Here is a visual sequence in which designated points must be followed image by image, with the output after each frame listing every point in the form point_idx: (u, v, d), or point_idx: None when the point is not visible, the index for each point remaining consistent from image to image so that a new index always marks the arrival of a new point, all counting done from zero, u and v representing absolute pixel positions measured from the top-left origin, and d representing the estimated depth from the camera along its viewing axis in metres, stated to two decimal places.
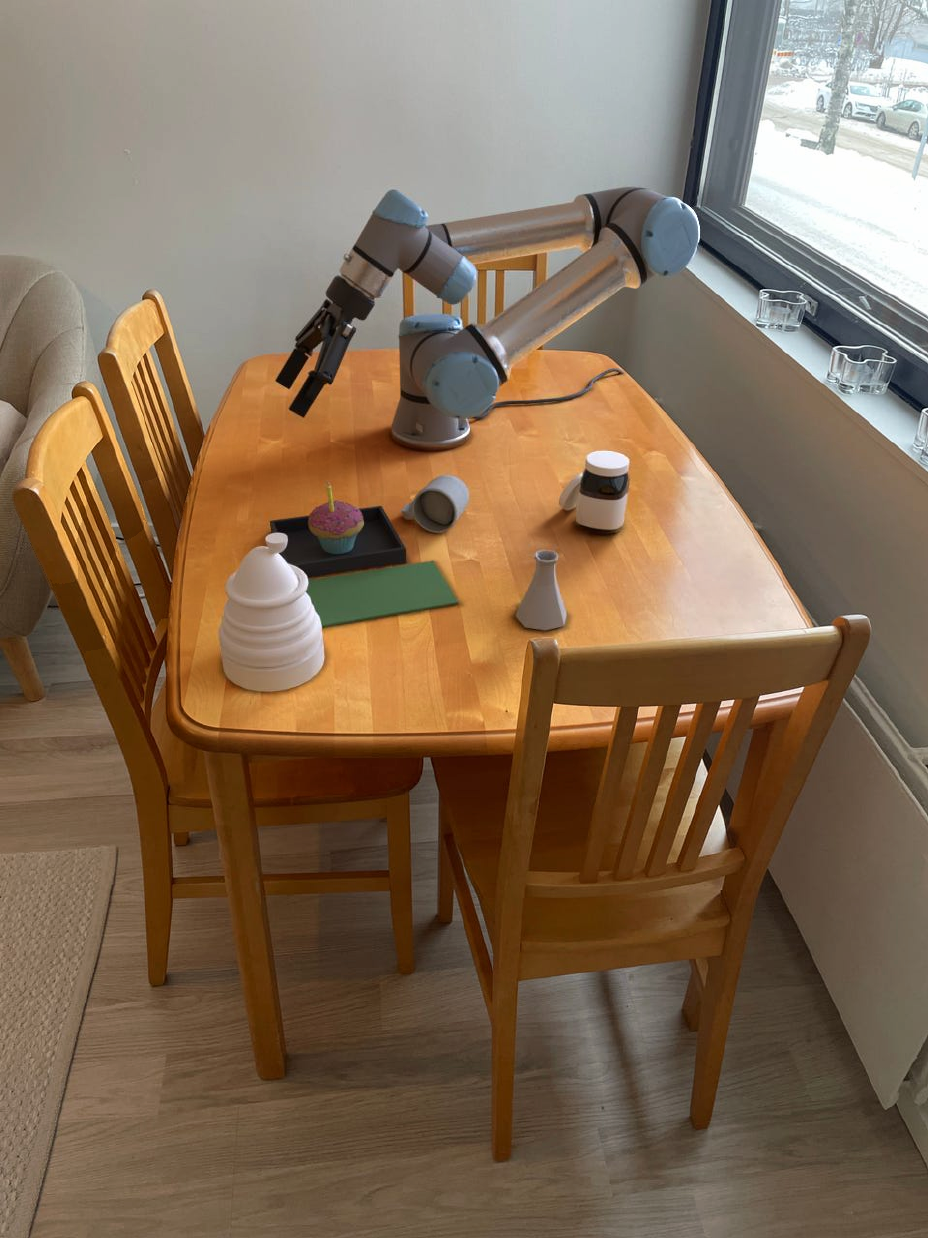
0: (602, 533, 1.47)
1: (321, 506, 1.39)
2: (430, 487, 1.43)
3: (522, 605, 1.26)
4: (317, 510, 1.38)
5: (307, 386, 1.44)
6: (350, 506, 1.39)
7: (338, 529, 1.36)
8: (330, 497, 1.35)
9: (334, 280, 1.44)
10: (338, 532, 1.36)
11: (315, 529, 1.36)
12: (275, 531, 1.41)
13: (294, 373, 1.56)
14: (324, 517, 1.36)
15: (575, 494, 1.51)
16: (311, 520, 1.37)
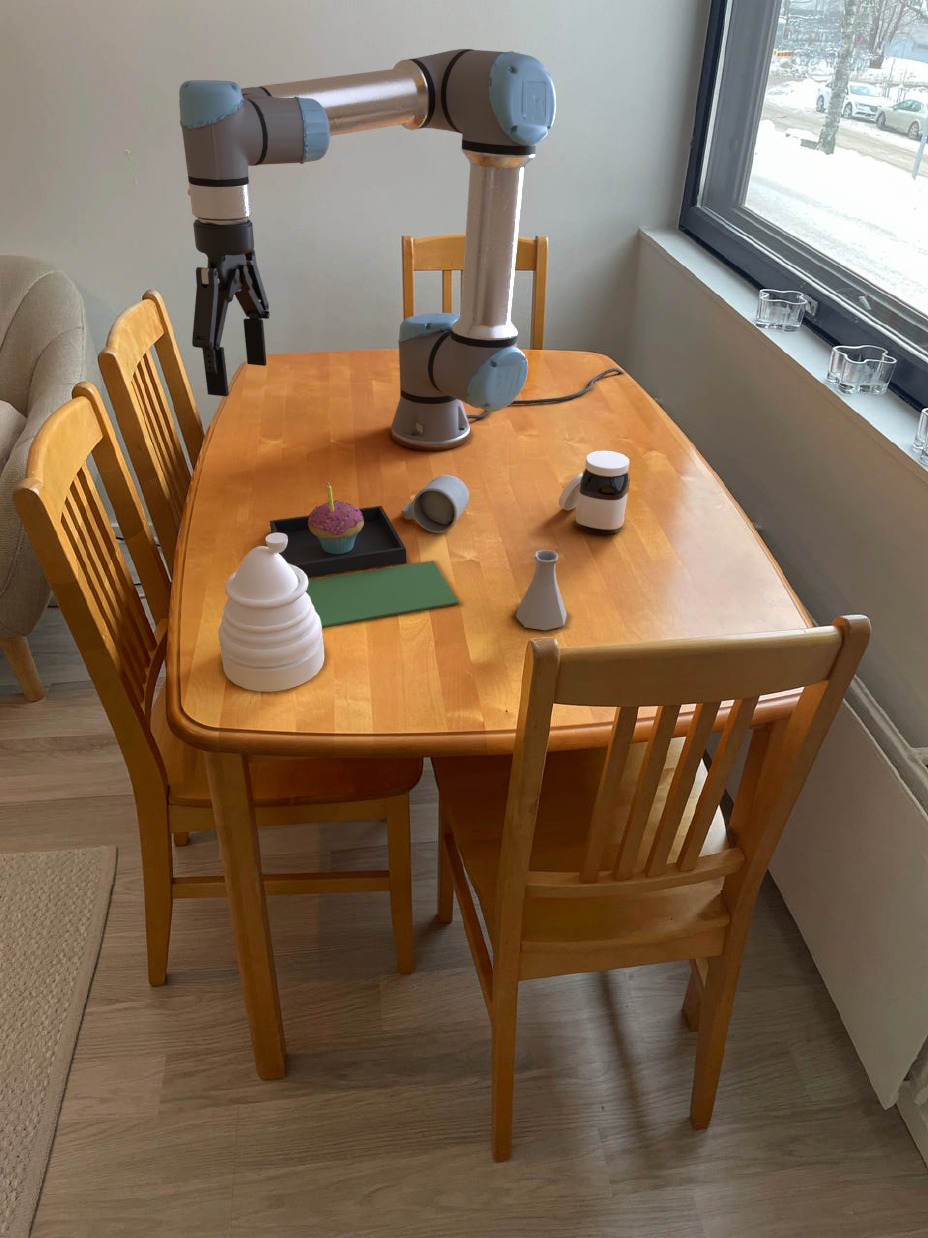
0: (602, 533, 1.47)
1: (321, 506, 1.39)
2: (430, 487, 1.43)
3: (522, 605, 1.26)
4: (317, 510, 1.38)
5: None
6: (350, 506, 1.39)
7: (338, 529, 1.36)
8: (330, 497, 1.35)
9: None
10: (338, 532, 1.36)
11: (315, 529, 1.36)
12: (275, 531, 1.41)
13: (258, 346, 1.34)
14: (324, 517, 1.36)
15: (575, 494, 1.51)
16: (311, 520, 1.37)
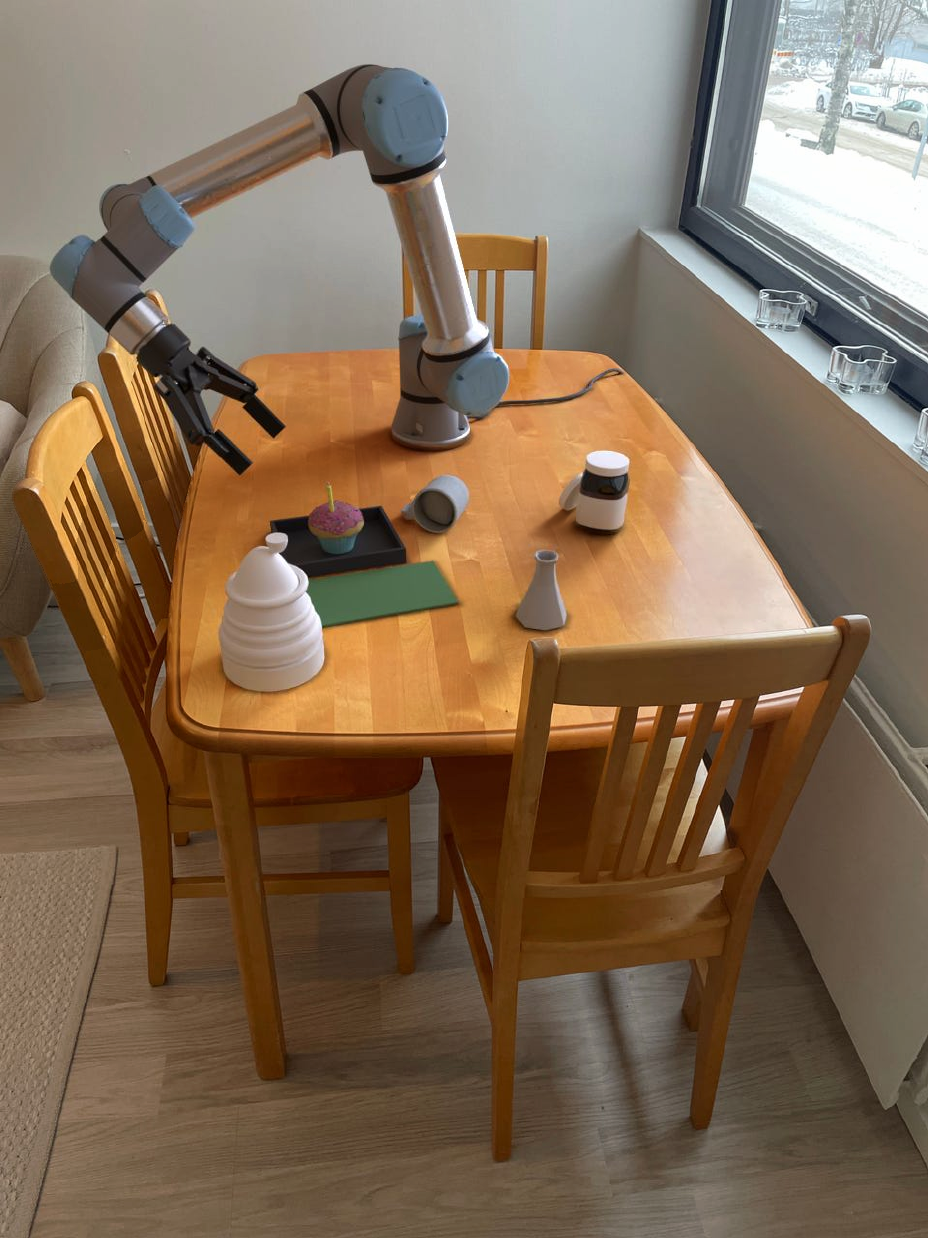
0: (602, 533, 1.47)
1: (321, 506, 1.39)
2: (430, 487, 1.43)
3: (522, 605, 1.26)
4: (317, 510, 1.38)
5: None
6: (350, 506, 1.39)
7: (338, 529, 1.36)
8: (330, 497, 1.35)
9: None
10: (338, 532, 1.36)
11: (315, 529, 1.36)
12: (275, 531, 1.41)
13: (267, 417, 1.39)
14: (324, 517, 1.36)
15: (575, 494, 1.51)
16: (311, 520, 1.37)
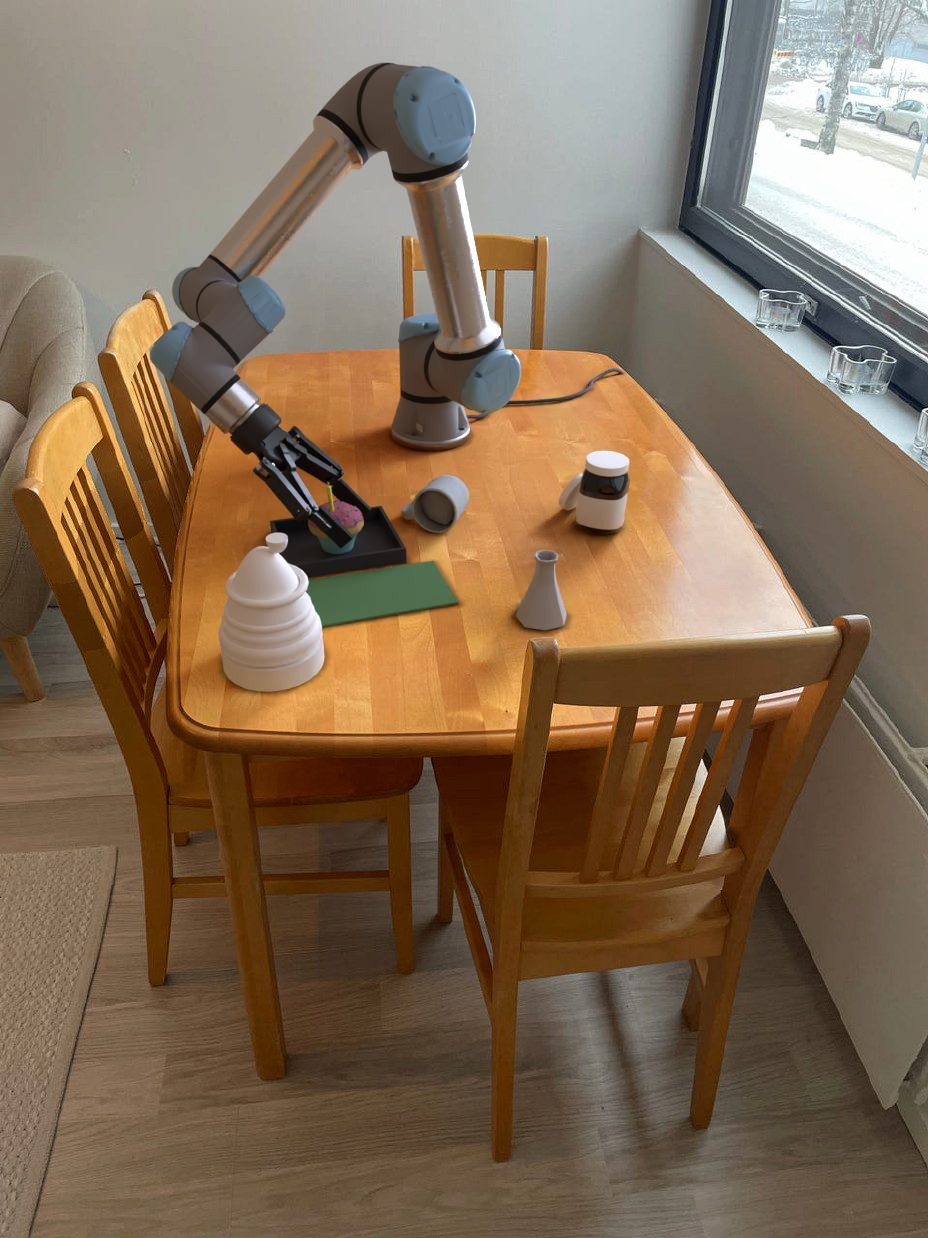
0: (602, 533, 1.47)
1: None
2: (430, 487, 1.43)
3: (522, 605, 1.26)
4: None
5: None
6: (350, 506, 1.39)
7: None
8: (330, 497, 1.35)
9: None
10: None
11: (315, 529, 1.36)
12: (275, 531, 1.41)
13: (354, 499, 1.42)
14: None
15: (575, 494, 1.51)
16: None
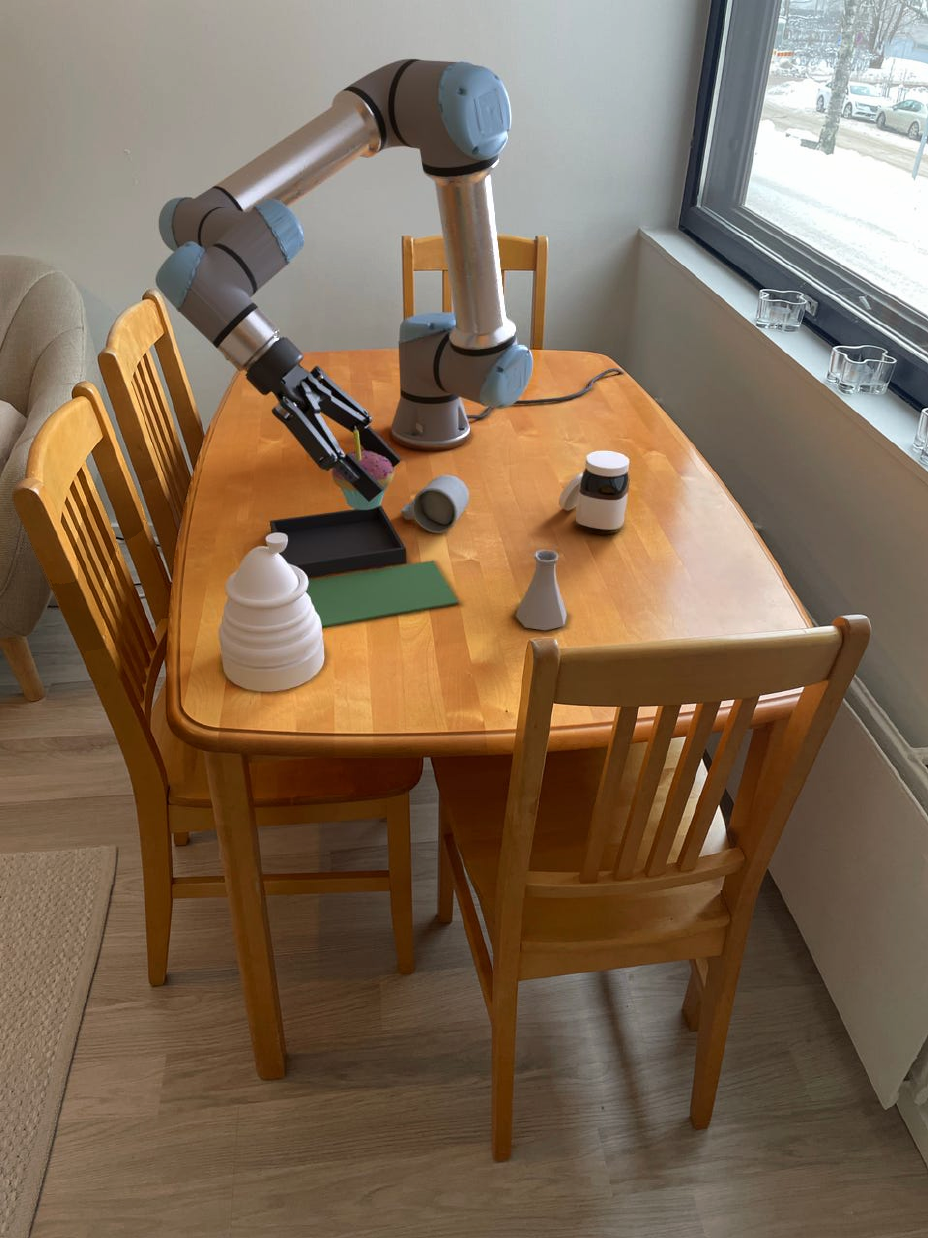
0: (602, 533, 1.47)
1: None
2: (430, 487, 1.43)
3: (522, 605, 1.26)
4: None
5: None
6: (379, 456, 1.25)
7: None
8: (357, 444, 1.20)
9: None
10: None
11: (340, 480, 1.22)
12: (275, 531, 1.41)
13: (382, 449, 1.27)
14: None
15: (575, 494, 1.51)
16: (335, 470, 1.22)
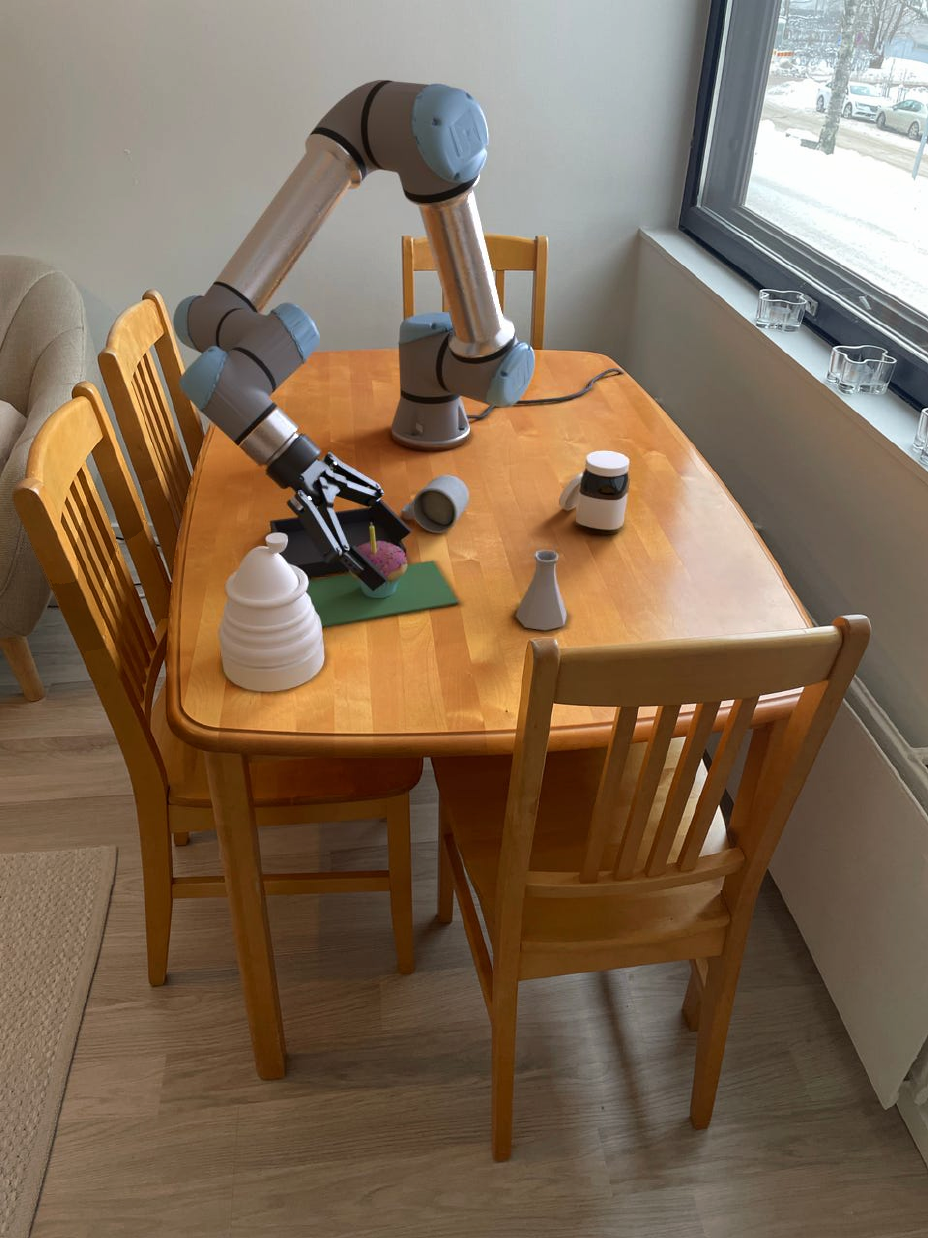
0: (602, 533, 1.47)
1: (362, 547, 1.28)
2: (430, 487, 1.43)
3: (522, 605, 1.26)
4: None
5: None
6: (393, 546, 1.29)
7: None
8: (373, 538, 1.25)
9: None
10: None
11: None
12: (275, 531, 1.41)
13: (393, 521, 1.32)
14: None
15: (575, 494, 1.51)
16: None
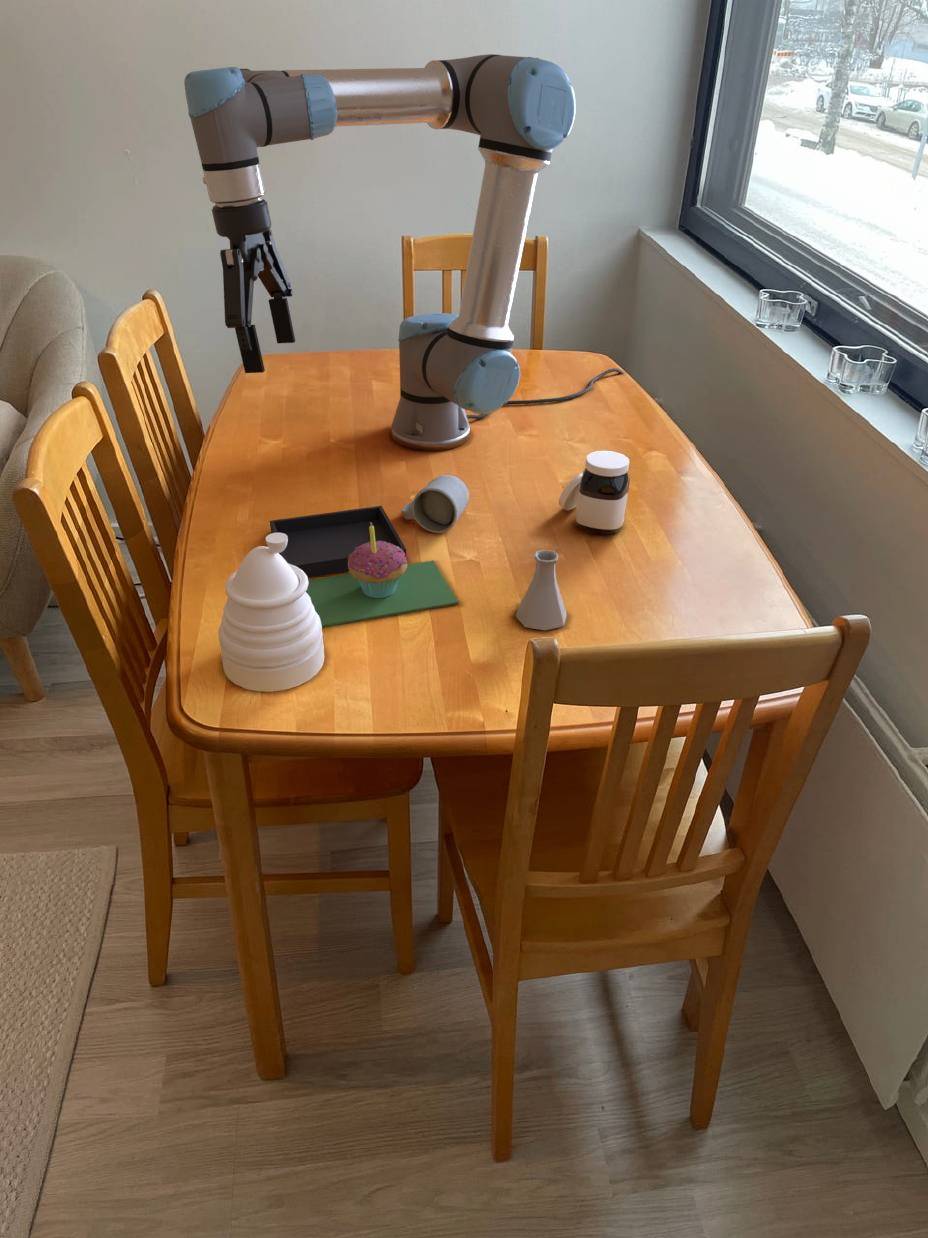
0: (602, 533, 1.47)
1: (362, 547, 1.28)
2: (430, 487, 1.43)
3: (522, 605, 1.26)
4: (358, 552, 1.28)
5: None
6: (393, 546, 1.29)
7: (381, 573, 1.26)
8: (373, 538, 1.25)
9: None
10: (381, 576, 1.26)
11: (356, 572, 1.26)
12: (275, 531, 1.41)
13: (285, 324, 1.39)
14: (365, 560, 1.26)
15: (575, 494, 1.51)
16: (351, 562, 1.27)
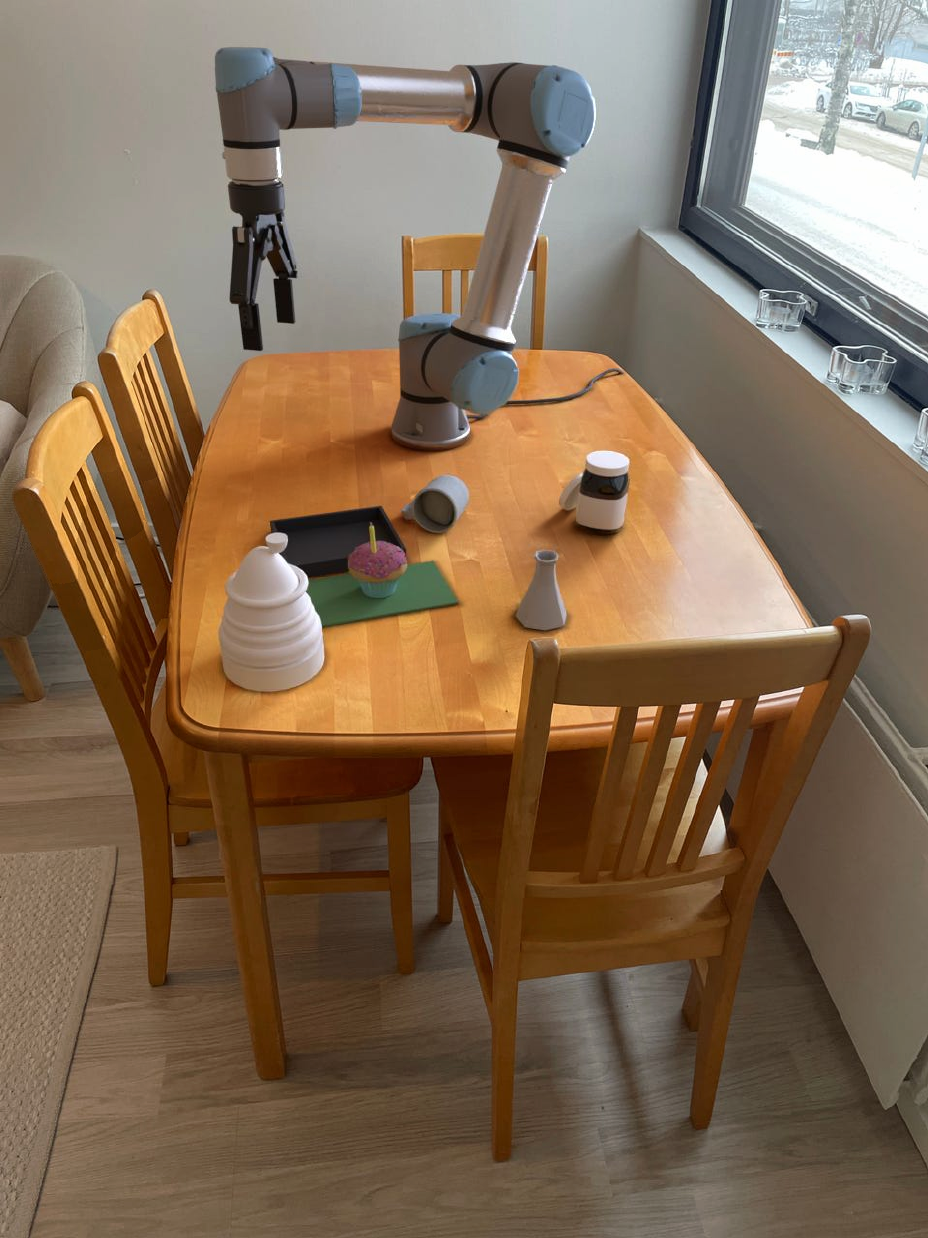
0: (602, 533, 1.47)
1: (362, 547, 1.28)
2: (430, 487, 1.43)
3: (522, 605, 1.26)
4: (358, 552, 1.28)
5: None
6: (393, 546, 1.29)
7: (381, 573, 1.26)
8: (373, 538, 1.25)
9: None
10: (381, 576, 1.26)
11: (356, 572, 1.26)
12: (275, 531, 1.41)
13: (287, 304, 1.40)
14: (365, 560, 1.26)
15: (575, 494, 1.51)
16: (351, 562, 1.27)
